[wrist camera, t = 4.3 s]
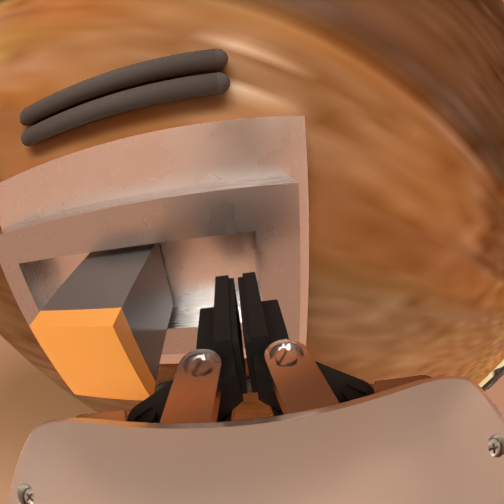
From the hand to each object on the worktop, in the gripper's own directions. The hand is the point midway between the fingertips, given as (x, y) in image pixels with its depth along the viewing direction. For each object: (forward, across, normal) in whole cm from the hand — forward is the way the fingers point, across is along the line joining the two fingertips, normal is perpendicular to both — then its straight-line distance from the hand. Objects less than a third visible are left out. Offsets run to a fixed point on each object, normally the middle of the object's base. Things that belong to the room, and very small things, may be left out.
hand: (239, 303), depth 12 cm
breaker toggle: (+4, +6, 0) cm, 7 cm away
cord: (+5, +6, -11) cm, 14 cm away
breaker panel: (+5, +6, 0) cm, 8 cm away
